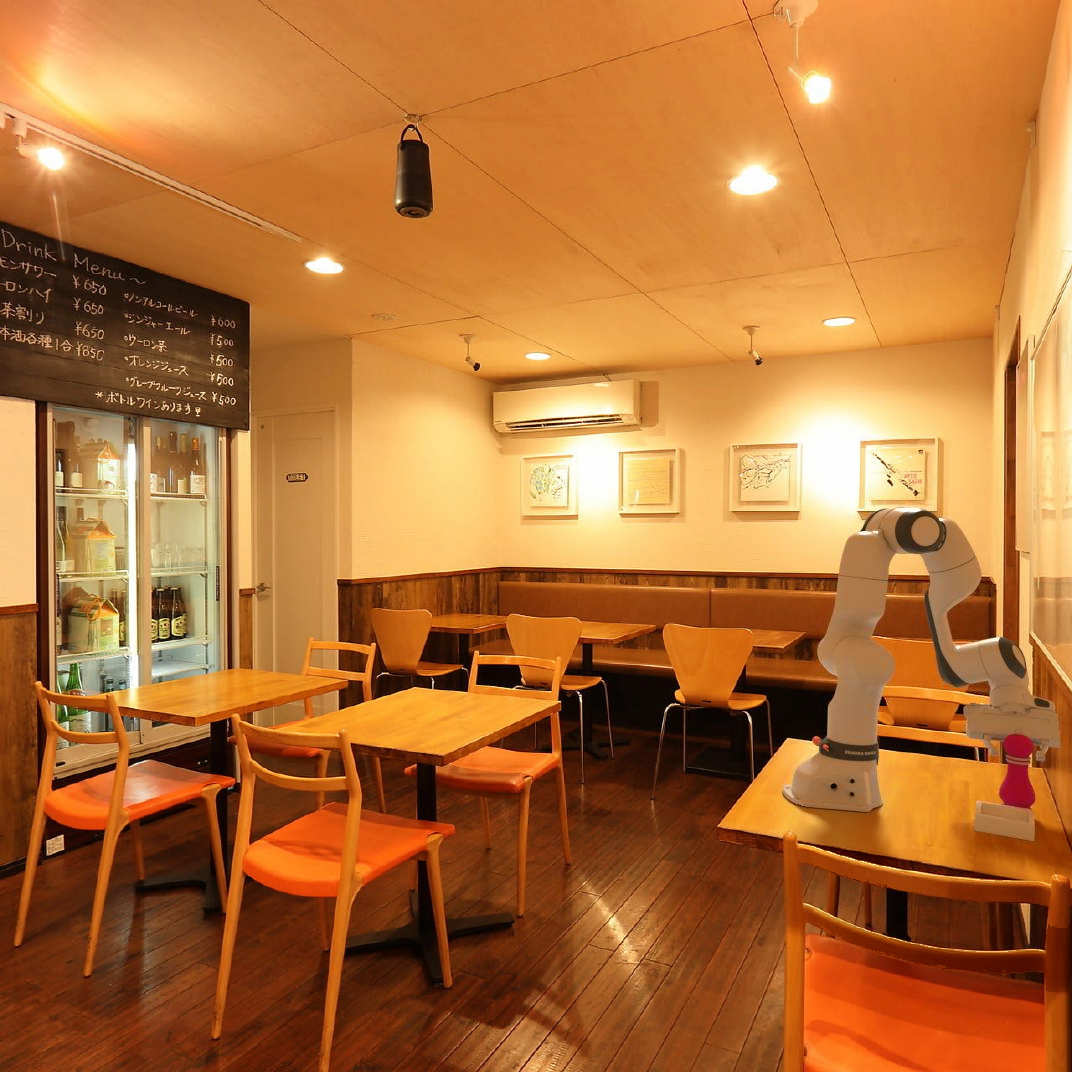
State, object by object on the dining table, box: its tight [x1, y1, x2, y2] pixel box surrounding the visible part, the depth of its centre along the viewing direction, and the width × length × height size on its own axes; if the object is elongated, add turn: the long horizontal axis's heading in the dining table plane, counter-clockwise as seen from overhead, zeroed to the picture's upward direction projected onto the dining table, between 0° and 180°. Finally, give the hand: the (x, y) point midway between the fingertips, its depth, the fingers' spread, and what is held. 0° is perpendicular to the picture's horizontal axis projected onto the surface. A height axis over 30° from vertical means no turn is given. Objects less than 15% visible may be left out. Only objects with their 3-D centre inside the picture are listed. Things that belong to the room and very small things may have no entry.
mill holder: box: [974, 800, 1036, 842], centre depth 177 cm, size 11×11×4 cm
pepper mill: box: [998, 727, 1036, 810], centre depth 186 cm, size 7×7×20 cm
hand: (1017, 757), depth 188 cm, fingers open, 8 cm apart
